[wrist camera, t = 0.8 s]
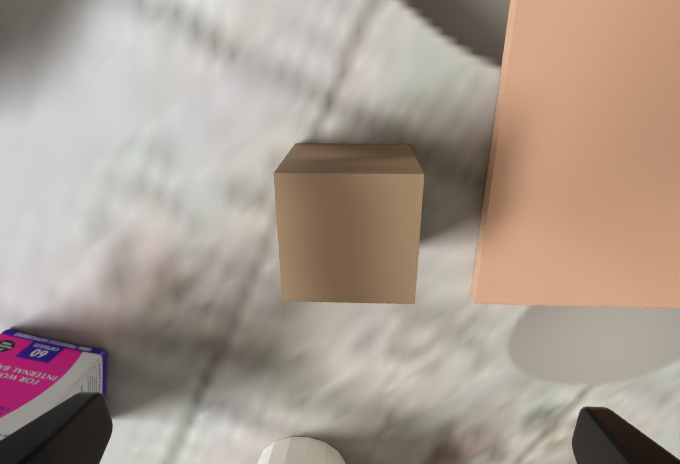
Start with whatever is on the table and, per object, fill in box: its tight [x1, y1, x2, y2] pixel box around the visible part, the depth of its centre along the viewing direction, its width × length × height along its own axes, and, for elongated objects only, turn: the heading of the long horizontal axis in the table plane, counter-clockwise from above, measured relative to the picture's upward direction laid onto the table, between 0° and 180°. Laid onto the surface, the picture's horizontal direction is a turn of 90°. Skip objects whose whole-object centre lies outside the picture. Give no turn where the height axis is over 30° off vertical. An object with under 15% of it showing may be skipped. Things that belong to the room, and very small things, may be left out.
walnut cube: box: [274, 144, 424, 304], centre depth 17 cm, size 5×5×5 cm
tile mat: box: [471, 0, 680, 308], centre depth 18 cm, size 14×14×1 cm
